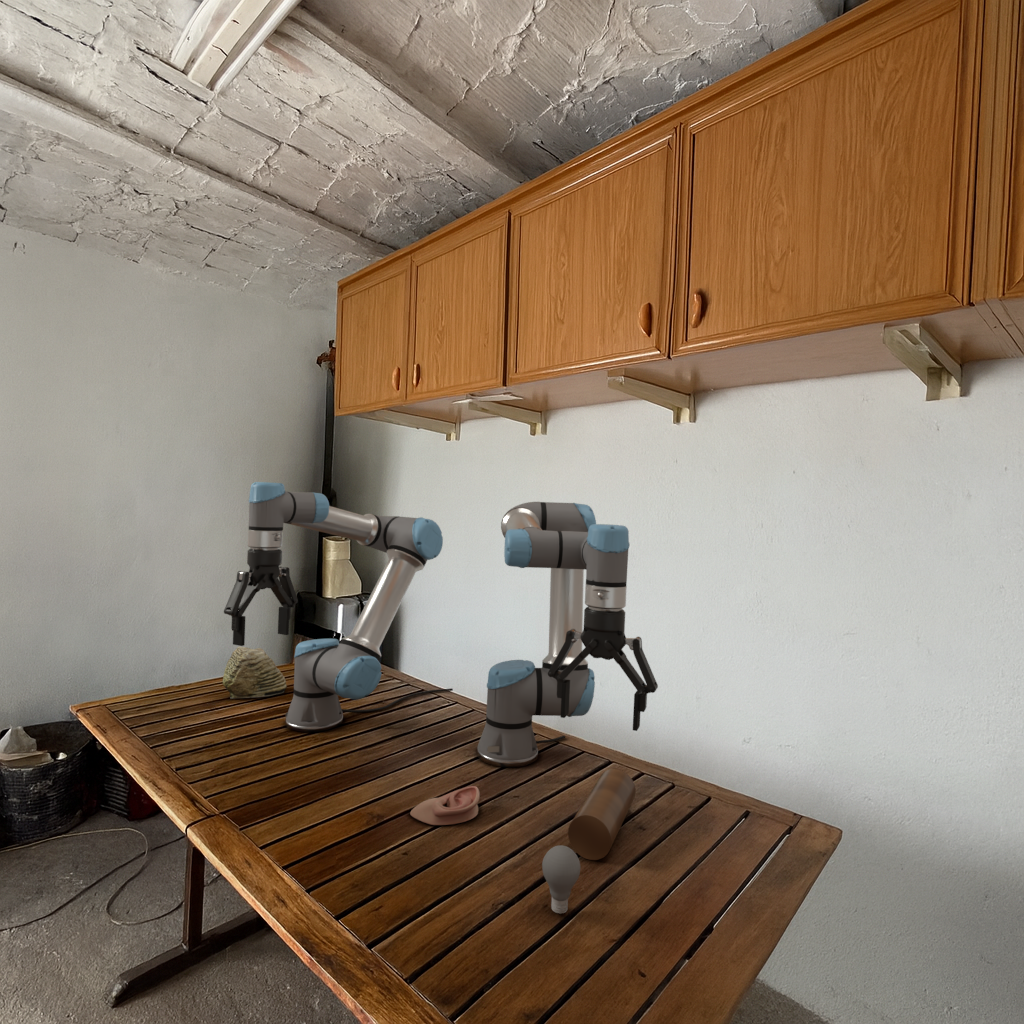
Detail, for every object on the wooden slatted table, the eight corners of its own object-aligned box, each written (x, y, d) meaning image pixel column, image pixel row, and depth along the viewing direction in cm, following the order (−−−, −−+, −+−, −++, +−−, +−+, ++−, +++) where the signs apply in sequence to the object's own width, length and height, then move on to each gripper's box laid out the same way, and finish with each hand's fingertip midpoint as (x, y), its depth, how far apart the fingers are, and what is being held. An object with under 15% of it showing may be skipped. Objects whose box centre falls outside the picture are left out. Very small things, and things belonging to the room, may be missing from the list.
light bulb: (538, 899, 102) (540, 837, 102) (574, 898, 103) (577, 837, 103) (542, 923, 96) (545, 859, 96) (581, 923, 97) (584, 858, 97)
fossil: (218, 695, 195) (220, 647, 195) (278, 685, 208) (279, 640, 207) (228, 703, 189) (230, 653, 188) (289, 692, 201) (290, 645, 201)
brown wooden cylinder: (597, 802, 137) (598, 765, 137) (635, 810, 134) (636, 772, 134) (567, 854, 116) (568, 810, 116) (610, 865, 113) (612, 820, 113)
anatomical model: (405, 801, 125) (424, 776, 136) (404, 821, 125) (423, 795, 136) (470, 810, 122) (484, 785, 133) (469, 831, 122) (483, 803, 133)
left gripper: (233, 552, 134) (230, 652, 135) (314, 546, 157) (311, 632, 157) (208, 550, 137) (204, 647, 138) (291, 544, 160) (288, 628, 160)
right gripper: (534, 603, 118) (529, 716, 119) (670, 618, 109) (664, 740, 109) (547, 598, 125) (542, 705, 126) (676, 612, 116) (671, 727, 116)
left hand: (261, 639), depth 148 cm, fingers open, 13 cm apart
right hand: (599, 722), depth 117 cm, fingers open, 13 cm apart
